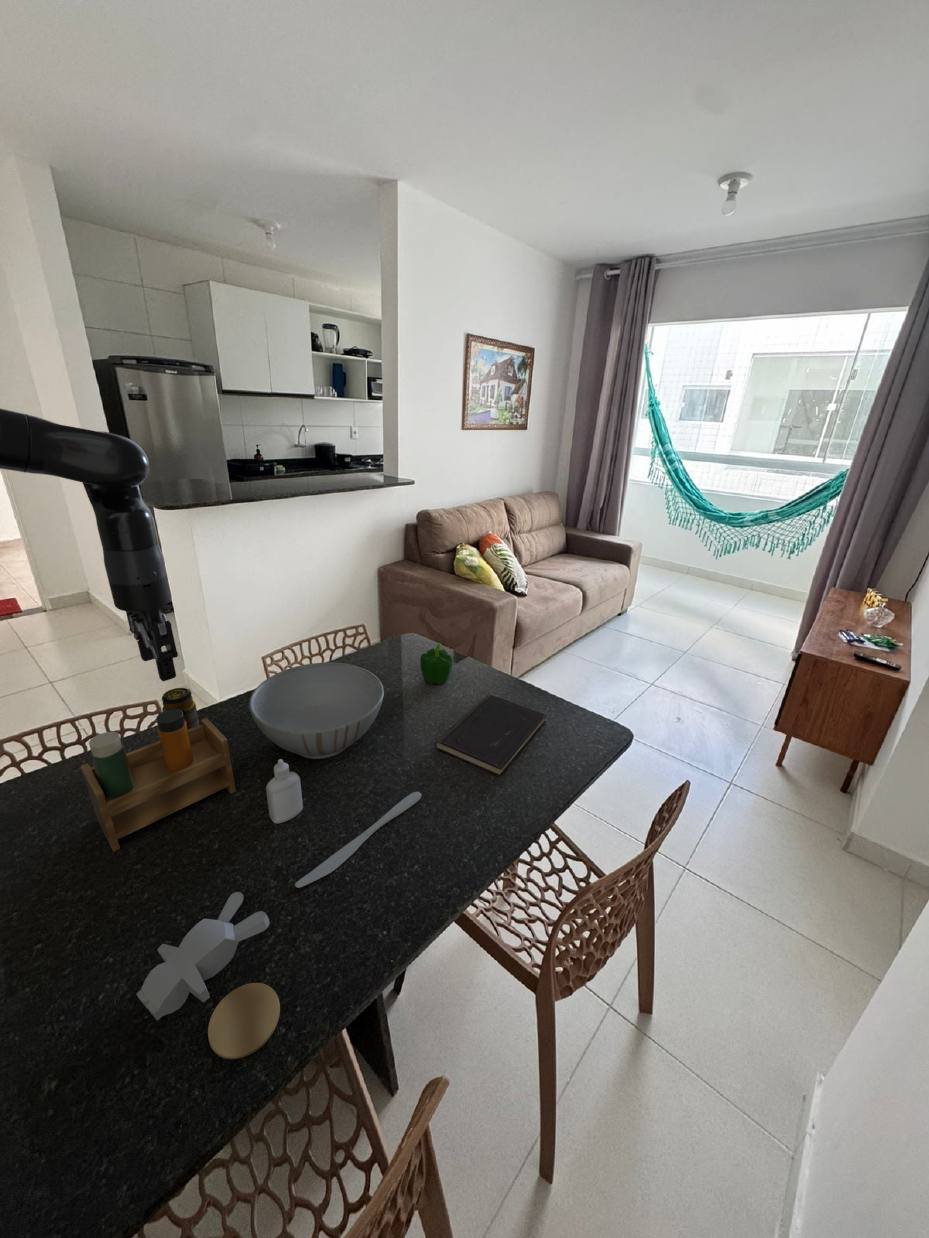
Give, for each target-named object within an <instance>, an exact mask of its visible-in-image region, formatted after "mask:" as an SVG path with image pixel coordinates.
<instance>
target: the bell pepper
mask: <svg viewBox="0 0 929 1238" xmlns="http://www.w3.org/2000/svg"><path fill="white" fill-rule="evenodd" d="M441 646H442V643H440V642H439V643H437V644H436V646H435V647H432V648H431V649H429V650H427V651H426V653H421V655H420V657H419V658H420V659H419V660H420V661H419V662H420V663H419V664H420V669H421V674H422V677H423V680H424V682H426V683H427V684H429V685H434V684H436V685H443V684H446V683H447V681H448V680H449V678H450V675H451V672H452V668H453V657H452V655H451V654H449V653H448V652H447V650H445V649H444V648H442V649H441Z"/></svg>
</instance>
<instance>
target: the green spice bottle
mask: <svg viewBox="0 0 929 1238" xmlns="http://www.w3.org/2000/svg"><path fill="white" fill-rule="evenodd" d="M88 745H89V749H90V757H91V761H92V764H93V766H94V767H95V771H96V774H97V777H98V780H99V784H100V787H101V789H102V791H103V793H104V797H106V798H117V797H120V796H123V795H125V794H127V793H128V792H130V791H131V790H132V789H133V787H134V781H133V777H132V774H131V770H130V766H129V763H128V759H127V755H126V754H127V753H126V748H125V745H124V743H123V742H122V739H121V736H120V734H119V733H118V732H116V731H107V732H105V731H104V732H102V733H99V734H97V735H95V736H93V737H92V738H91V739H90V740H89V742H88Z"/></svg>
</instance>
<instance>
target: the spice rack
mask: <svg viewBox="0 0 929 1238" xmlns="http://www.w3.org/2000/svg"><path fill="white" fill-rule="evenodd" d="M188 734H189V738H190V743H191V748H192V753H193V758H194V761H193V763H192V764H191V765H190V766H189V767H187V768H185V769H183V770H179V771H170V770H168V769H167V768H166V765H165V761H164V757H163V753H162V748H161V744H160V740H158V741H155V742H153V743H150V744H148V745H145V746H143V747H140V748H137V749H135V750H131V751H129V752H127V753H126V755H127V759H128V763H129V766H130V770H131V774H132V777H133V781H134V787H133V789H132V790H131V791H130V792H128V793H127V794H125V795H123V796H120V797H117V798H106V797H104V793H103V791H102V789H101V787H100V784H99V780H98V777H97V774H96V771H95V767H94V765H93V766H90V765H89V763H84V764H81V765H80V770H81V772H82V776H83V780H84V782H85V786H86V789H87V792H88V795H89V798H90V801H91V805H92V807H93V810H94V814H95V818H96V820H97V823H98V825H99V826H100V829H101V830H102V832H103V834H104V836H105V838H106V841H107V842H108V845H109V846H110V848H111V850H112V852H114V853H115V852H117V851H118V850H121V847H120V843H119V840H121V839H122V838H125V837H127V836H128V835H130V834H132V833H134V832H137V831H139V830H141V829H143V828H145V827H147V826H149V825H151V824H153V823H155V822H157V821H159V820H162V819H163V818H166V817H168V816H170V815H172V814H174V813H176V812H179V811H180V810H182V809H184V808H186V807H189V806H191V805H193V804H195V803H196V802H199V801H201V800H203V799H206V798H207V797H209V796H211V795H213V794H215V793H217V792H221V791H222V790H224V789H225V790H227V791H228V792H229V794H230V795H232V794H234V793H237V790H236V782H235V777H234V771H233V765H232V760H231V753H230V748H229V742H228V741H229V740H228V739H227V738H226V737H225V735H224V734H223V733H222V732H221V731H220V730H219V729H218V728H217V727H216V726H215V725H214V724H213V723H212V722H211V720H209V719H208V718H207V717H205V718H203V719H201V724H199V726H197V727H194V728H191V729H189V730H188Z"/></svg>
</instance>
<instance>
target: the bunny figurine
mask: <svg viewBox="0 0 929 1238" xmlns="http://www.w3.org/2000/svg"><path fill="white" fill-rule="evenodd" d="M243 901H244V895H243V893H242V892H240V891H235V892H233V893H231V894H230V895H229V897H228V898H227V900H226V902H225V904H224V906H223V908H222V910H221V911H220V914H219V916H218V918H217V919H213V918H212V919H211V918H203V919H201V920H200V921H199V922H198V923H196V924H195V925H194V926H193V927H192V928H191V929H190V930H189V931H188V933H187V934H186V935H185V936H184V937H183V939H182V941H181V942H180V944H179V945H178V947H177V946H174V945H169V944H167V943H166V944H165V943H161V945H160V946H159V947H158V948H157V953H158V954H159V957H161V959H162V960H163V962H162V963H159V964H157V965H156V966H155V967H154V968H152V969H151V970H150V971H149V973H148V975H147V976H146V978H145V979H144V982H143V983H142V985H141V986H142V987H141V989H140V990H139V991H137V992H136V996H137V998H138V999H139V1001H140V1002H141V1003H142V1004H143V1006H144V1007H145V1008H146V1009H147V1010H148V1011H149V1013H150V1014H151V1015H152V1016H153V1017H154V1019H155V1020H156V1021H157V1022H158V1021H159V1020H160V1019H161V1018H162V1017H165V1016H167V1015H171V1014H173V1013H175V1012H176V1011H177V1010H180V1009H181V1008H182V1006H183V1005H184V1004H185V1003H186V1001H187V1000H188V997H189V995H190V993H191V994H192V995H193V996H194V997H196V998H197V999H198V1000H200V1001H201V1002H202V1003H205V1002H206V1001H207V1000H209V999H210V998H211V996H210V993H209V991H208V988H207V986H206V983H205V981H207V980H209V979H211V978H213V977H215V976H216V975H217V974H218V973H219V972H221V971H222V970H223V969H224V968H225V967H226V966H227V965H228V964H229V963H230V962H231V961H232V959H234V956H235V955H236V951H237V948H238V945H239V942H242V941H243V940H246V939H248V938H251V937H253V936H255V935H258V934H261V933H263V932H264V931H266V930H267V929H268V928H269V926H270V918H269V916H268V915H267V913H266V912H264V911H262V910H260V911H256V912H254V913H252V914H251V915H249V916H248V917H246V918H245V919H243V920H242V921H239V922H238V923H237V924H235V925H234V924H233V923H231V922H230V921H231V920H232V918H233V917H234V915H235V914H236V913H237V911H238V909H239V908H240V906H241V905H242V904H243Z"/></svg>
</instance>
